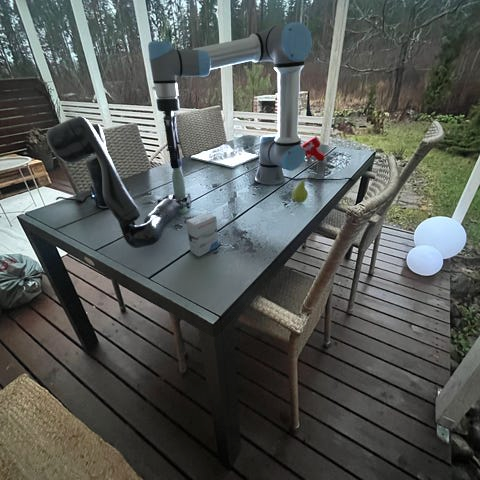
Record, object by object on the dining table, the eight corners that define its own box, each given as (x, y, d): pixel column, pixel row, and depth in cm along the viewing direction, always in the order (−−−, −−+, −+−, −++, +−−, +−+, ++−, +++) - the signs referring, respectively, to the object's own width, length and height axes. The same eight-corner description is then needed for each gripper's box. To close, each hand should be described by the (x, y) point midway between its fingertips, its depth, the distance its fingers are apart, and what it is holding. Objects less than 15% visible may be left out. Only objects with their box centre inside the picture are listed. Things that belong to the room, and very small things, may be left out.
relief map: (232, 167, 162) (232, 159, 160) (191, 158, 180) (190, 150, 177) (257, 157, 181) (258, 149, 178) (218, 149, 198) (217, 142, 196)
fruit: (288, 200, 123) (290, 174, 116) (302, 197, 125) (305, 172, 119) (296, 206, 118) (299, 179, 111) (310, 203, 120) (314, 177, 114)
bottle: (187, 208, 117) (181, 160, 106) (188, 212, 113) (182, 163, 102) (176, 209, 116) (169, 161, 105) (177, 214, 112) (169, 164, 101)
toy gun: (328, 156, 170) (316, 135, 166) (328, 158, 166) (315, 136, 162) (303, 171, 180) (291, 152, 176) (302, 173, 176) (290, 153, 172)
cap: (181, 163, 106) (180, 158, 105) (182, 166, 103) (181, 161, 102) (170, 164, 106) (169, 158, 104) (170, 167, 102) (170, 162, 101)
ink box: (209, 241, 95) (207, 210, 88) (218, 246, 92) (217, 215, 85) (189, 251, 90) (185, 219, 83) (198, 257, 87) (195, 225, 80)
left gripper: (182, 204, 96) (198, 187, 110) (145, 201, 99) (165, 184, 113) (184, 223, 100) (200, 203, 114) (149, 219, 103) (168, 201, 117)
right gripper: (159, 95, 99) (169, 158, 112) (150, 101, 83) (162, 173, 96) (180, 95, 100) (187, 157, 113) (175, 100, 84) (184, 173, 96)
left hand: (182, 194), depth 113 cm, fingers closed on bottle, 4 cm apart
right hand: (176, 165), depth 104 cm, fingers open, 6 cm apart
